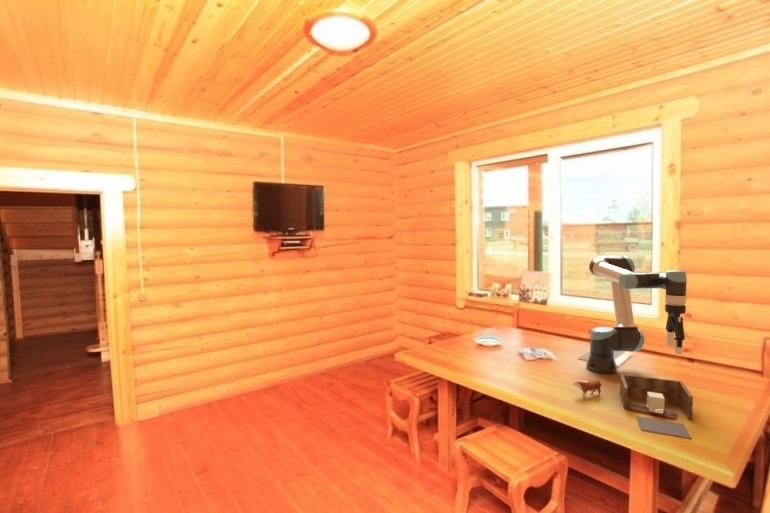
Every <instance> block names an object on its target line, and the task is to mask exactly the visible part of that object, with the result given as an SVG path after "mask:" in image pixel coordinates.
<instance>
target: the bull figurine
mask: <svg viewBox="0 0 770 513" xmlns="http://www.w3.org/2000/svg"><path fill="white" fill-rule="evenodd" d="M572 385H573V386H576V387H577V388H578V389H579V390H580V391H582V398H584V399H585V398H586V397H587V396H586V395H587V392H588V391H589V392H590V394H589V395H591V396H592V395H593V394H594V392H598V394H597V397H600V396H601V391H602V390H601V386H602V384H601V381H600V380H599V379H597V380H583V379H582V380H580V379H576V380H574V382H573V383H572Z"/></svg>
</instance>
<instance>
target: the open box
mask: <svg viewBox="0 0 770 513" xmlns="http://www.w3.org/2000/svg"><path fill="white" fill-rule="evenodd" d="M619 378H620V379H619V382H620V383H619V394H620V398H621V399H620V400H621V402H622V406H623V410H626V411H628V397H631V398H640V399H645V400H647V392H653V393H661V394H662V395H663V397H664V398H665V403H667V402H668V403H673V404H674V403H675V404H679V407H680V408H681V410H682V411H683V413H684V414H685V416H686V418H687V420H688V421H692V420H693V403H694V401H693V400H694V396H693V395H692V393H691V392H690V391H689V389H688V388H687V386H686V384H685V383H684V382H683V380H682V381H681V380H674V379H668V378H667V379H666V378H658V377H652V376H651V377H649V376H642V375H634V374H626V373H620V377H619Z"/></svg>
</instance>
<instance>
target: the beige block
mask: <svg viewBox="0 0 770 513" xmlns="http://www.w3.org/2000/svg"><path fill="white" fill-rule="evenodd" d="M665 403H666V401H665V398H664V397H663V395H662V394H661V393H653V392H647V399H646V406H647V405H648V407H649V408H652V409H663V410H664V411H665Z"/></svg>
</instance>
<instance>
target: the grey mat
mask: <svg viewBox="0 0 770 513" xmlns="http://www.w3.org/2000/svg"><path fill="white" fill-rule="evenodd" d="M636 418H637V423H638V425H639V429H640V431H644V432H649V433H654V434H660V435H665V436H671V437H676V438H683V439H687V440H688V439H689V440H692V436H691V434H690V433H689V431H688V429H687V428H686V425H685V424H684V423H682V422H675V421H671V420H670V421H669V420H663V419H657V418H651V417H647V416H646V417H645V416H638V415H637V416H636Z"/></svg>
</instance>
